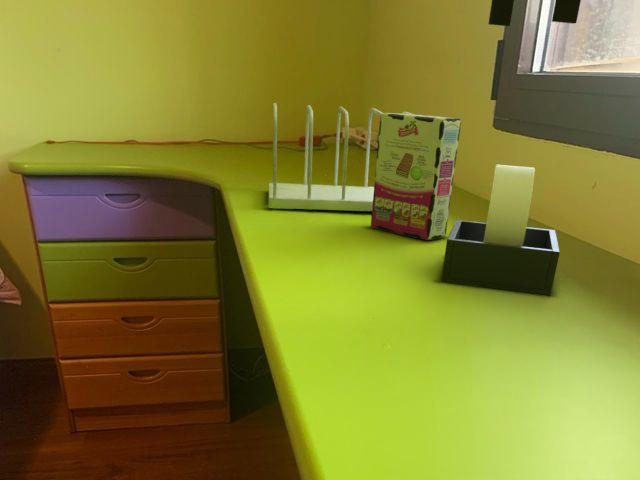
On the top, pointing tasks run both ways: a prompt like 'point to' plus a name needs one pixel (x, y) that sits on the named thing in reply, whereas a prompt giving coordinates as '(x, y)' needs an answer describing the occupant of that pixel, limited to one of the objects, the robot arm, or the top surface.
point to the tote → (501, 259)
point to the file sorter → (322, 194)
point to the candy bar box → (414, 174)
